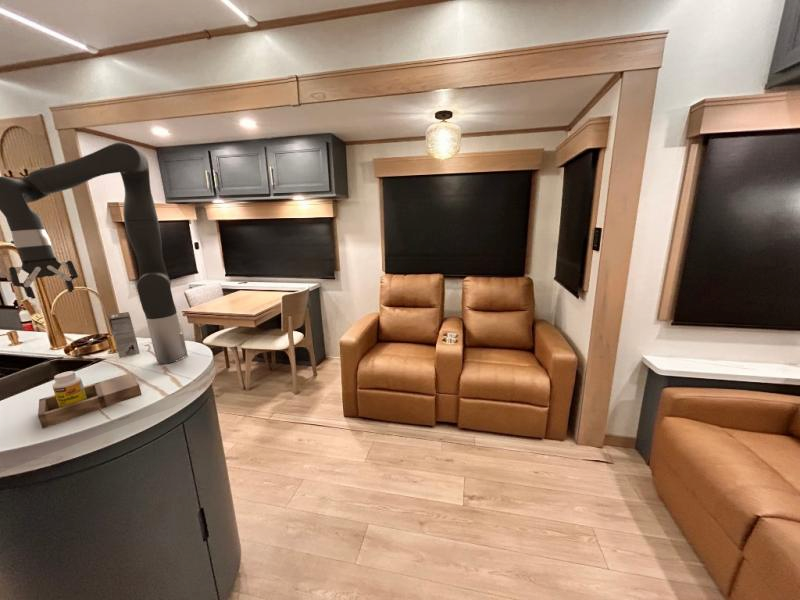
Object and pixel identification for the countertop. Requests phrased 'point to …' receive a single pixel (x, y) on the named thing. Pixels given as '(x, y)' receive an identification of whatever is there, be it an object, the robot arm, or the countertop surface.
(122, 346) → the coffee box
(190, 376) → the countertop surface
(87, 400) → the cup caddy
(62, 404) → the supplement bottle
